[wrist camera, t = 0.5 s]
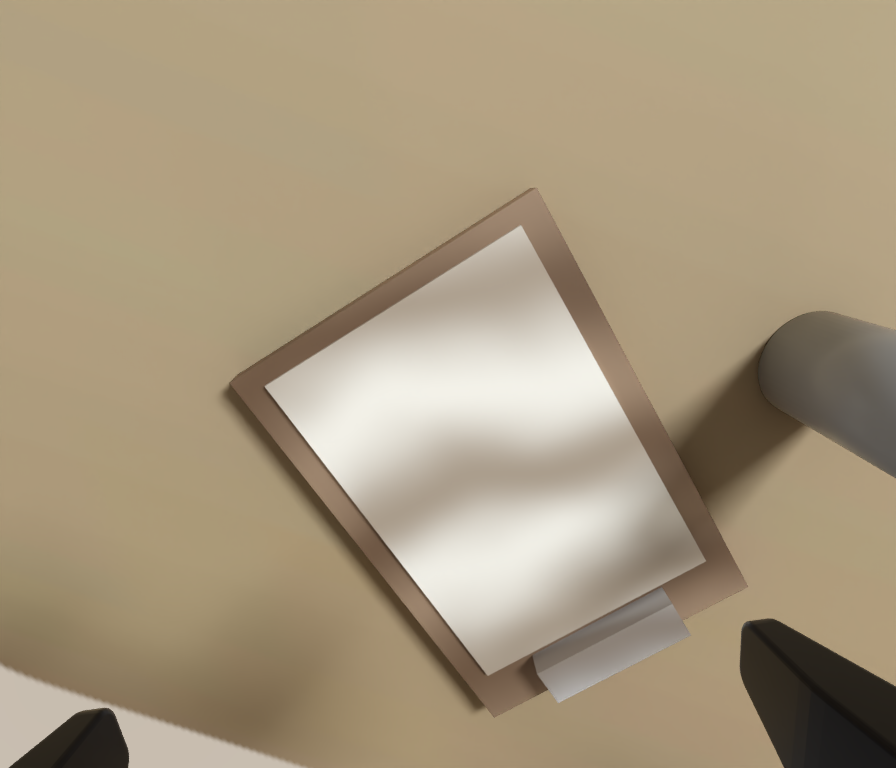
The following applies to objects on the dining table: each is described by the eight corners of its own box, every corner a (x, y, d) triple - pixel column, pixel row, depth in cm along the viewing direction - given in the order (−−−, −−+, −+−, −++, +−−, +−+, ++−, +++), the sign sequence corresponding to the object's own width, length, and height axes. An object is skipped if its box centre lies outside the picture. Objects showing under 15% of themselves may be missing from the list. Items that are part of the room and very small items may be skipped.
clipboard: (735, 571, 24) (762, 603, 22) (491, 698, 26) (497, 738, 24) (530, 188, 19) (543, 187, 17) (238, 374, 21) (219, 392, 19)
